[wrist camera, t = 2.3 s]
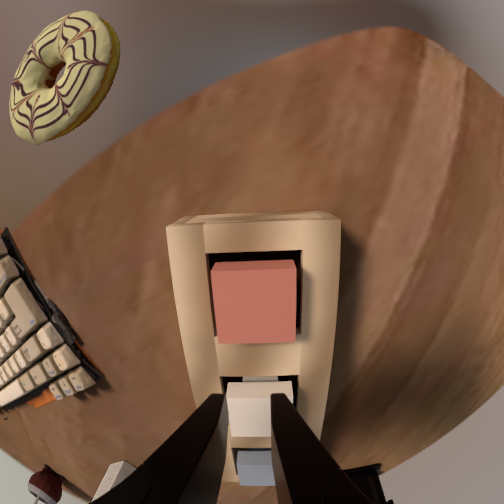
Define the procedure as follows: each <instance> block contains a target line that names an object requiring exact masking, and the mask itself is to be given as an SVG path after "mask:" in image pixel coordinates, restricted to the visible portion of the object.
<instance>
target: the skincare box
mask: <svg viewBox="0 0 504 504" xmlns="http://www.w3.org/2000/svg"><path fill="white" fill-rule="evenodd" d="M136 469H137V468H135V467H134V466H132V465H131V464H129V463H128V462H126V461H120V462H116V463H113V464H111V465H110V466H109V468H108V470H107V472H106V474H105V476H104V478H103V480H102V482H101V484H100V486H99V488H98V490H97V492H96V494H95V496H94V498H93V500H92V501H94V500H95V499H97V498H99V497H100V496H102V495H103V494H105V493H106V492H108V491H109V490H111V489H112V488H113V487H115V486H116V485H118V484H119V483H120V482H122V481H123V480H124V479H125V478H126V477H128V476H129V475H130V474H131V473H132V472H133V471H134V470H136Z"/></svg>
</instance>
